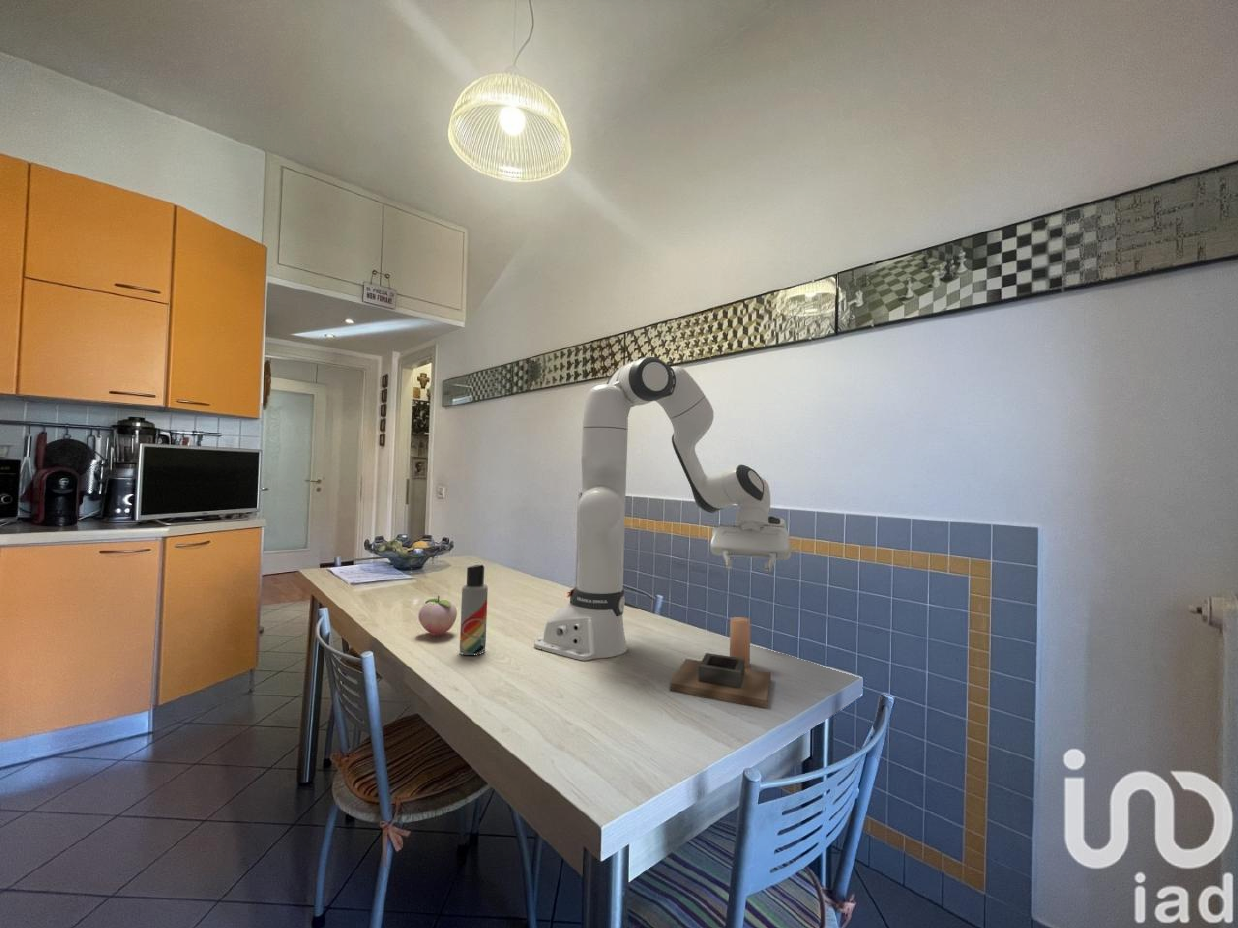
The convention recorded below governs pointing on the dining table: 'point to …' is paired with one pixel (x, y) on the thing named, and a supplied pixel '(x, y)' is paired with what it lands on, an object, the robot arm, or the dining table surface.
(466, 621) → the lotion bottle
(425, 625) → the decorative fruit
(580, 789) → the dining table surface
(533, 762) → the dining table surface
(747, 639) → the peg
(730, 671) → the collar stand
